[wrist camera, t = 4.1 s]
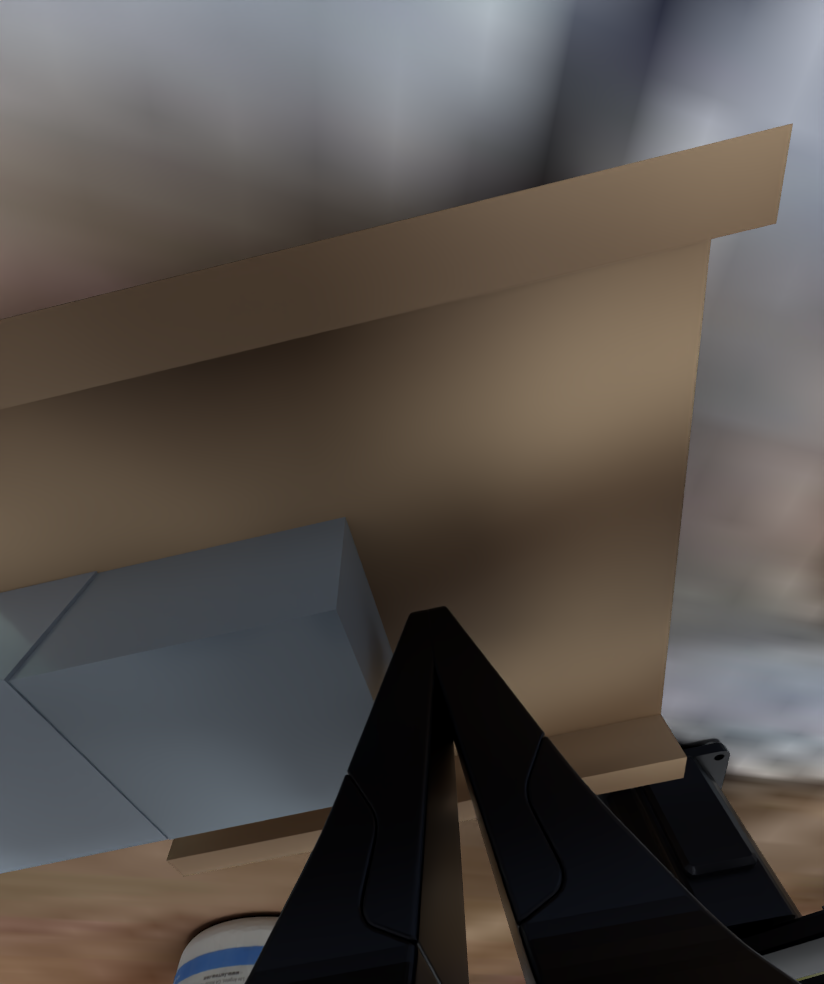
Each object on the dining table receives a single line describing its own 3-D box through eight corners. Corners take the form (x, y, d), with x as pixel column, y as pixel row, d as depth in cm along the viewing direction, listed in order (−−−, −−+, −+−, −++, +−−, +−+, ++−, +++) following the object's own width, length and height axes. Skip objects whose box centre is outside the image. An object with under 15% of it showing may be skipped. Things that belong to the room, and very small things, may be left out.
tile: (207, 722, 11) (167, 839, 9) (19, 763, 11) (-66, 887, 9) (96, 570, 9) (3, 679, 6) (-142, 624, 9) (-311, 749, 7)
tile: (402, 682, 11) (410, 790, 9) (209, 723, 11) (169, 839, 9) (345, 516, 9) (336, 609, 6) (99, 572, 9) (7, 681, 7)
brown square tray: (591, 621, 17) (683, 778, 12) (237, 696, 17) (183, 876, 12) (585, 184, 10) (792, 124, 5) (2, 328, 11) (-330, 401, 6)
